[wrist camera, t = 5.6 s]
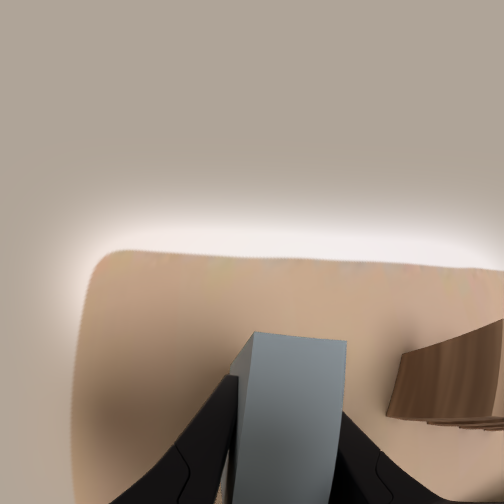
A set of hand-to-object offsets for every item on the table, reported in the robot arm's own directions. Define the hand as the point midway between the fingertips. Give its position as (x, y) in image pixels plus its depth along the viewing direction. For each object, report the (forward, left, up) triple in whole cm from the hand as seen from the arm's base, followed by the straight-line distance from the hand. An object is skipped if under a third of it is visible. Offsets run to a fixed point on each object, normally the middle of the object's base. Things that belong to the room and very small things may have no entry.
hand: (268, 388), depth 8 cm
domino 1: (-1, -1, -7) cm, 7 cm away
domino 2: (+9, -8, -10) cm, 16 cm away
